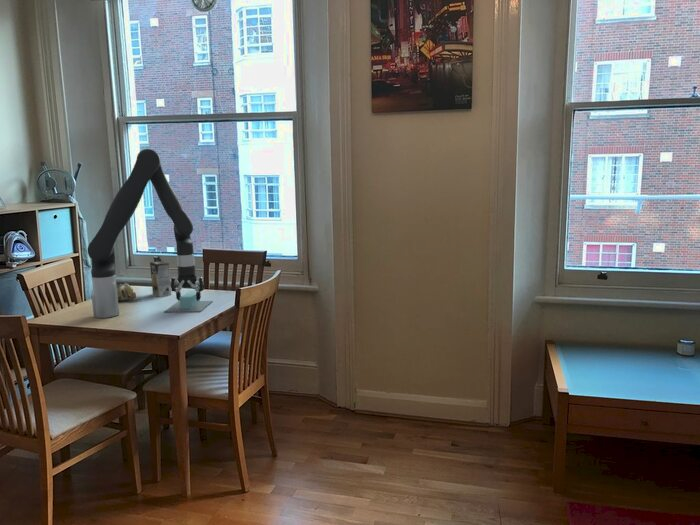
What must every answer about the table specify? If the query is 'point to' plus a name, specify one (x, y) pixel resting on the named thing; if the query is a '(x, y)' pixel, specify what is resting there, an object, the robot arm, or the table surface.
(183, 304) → the card box
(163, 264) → the coffee box
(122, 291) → the ceramic sculpture
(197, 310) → the rubber mat
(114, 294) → the robot arm
